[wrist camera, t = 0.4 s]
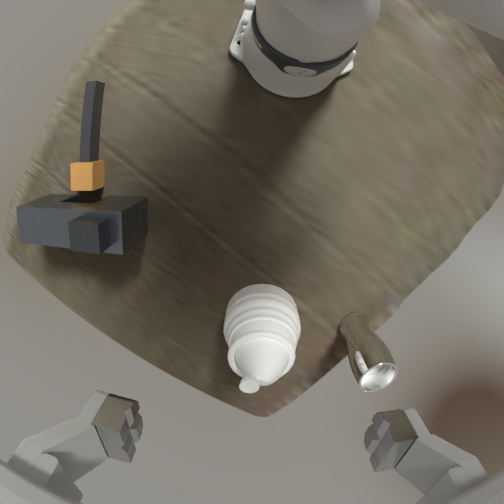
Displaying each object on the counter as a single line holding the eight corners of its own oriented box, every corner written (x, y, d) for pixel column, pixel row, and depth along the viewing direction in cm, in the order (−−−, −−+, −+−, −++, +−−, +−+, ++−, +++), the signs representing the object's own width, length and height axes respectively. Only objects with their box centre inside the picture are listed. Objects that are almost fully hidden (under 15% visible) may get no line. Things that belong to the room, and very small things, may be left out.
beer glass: (372, 308, 51) (403, 358, 37) (367, 337, 53) (392, 389, 39) (338, 311, 51) (362, 365, 37) (334, 340, 53) (354, 396, 39)
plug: (89, 85, 37) (77, 82, 33) (111, 82, 37) (99, 78, 33) (83, 186, 43) (70, 190, 39) (104, 186, 43) (92, 190, 39)
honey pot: (220, 335, 53) (208, 408, 36) (233, 276, 49) (223, 344, 32) (285, 347, 54) (294, 420, 37) (306, 291, 49) (328, 361, 33)
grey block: (50, 194, 43) (4, 211, 31) (147, 197, 44) (111, 217, 32) (52, 225, 45) (9, 248, 33) (147, 233, 46) (114, 263, 34)
